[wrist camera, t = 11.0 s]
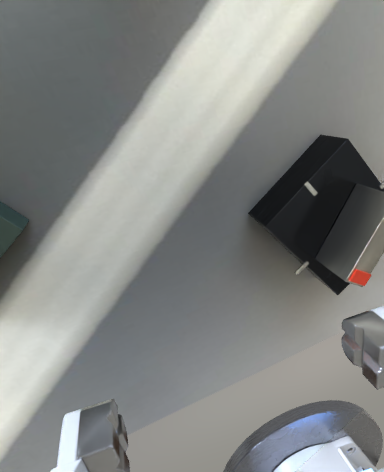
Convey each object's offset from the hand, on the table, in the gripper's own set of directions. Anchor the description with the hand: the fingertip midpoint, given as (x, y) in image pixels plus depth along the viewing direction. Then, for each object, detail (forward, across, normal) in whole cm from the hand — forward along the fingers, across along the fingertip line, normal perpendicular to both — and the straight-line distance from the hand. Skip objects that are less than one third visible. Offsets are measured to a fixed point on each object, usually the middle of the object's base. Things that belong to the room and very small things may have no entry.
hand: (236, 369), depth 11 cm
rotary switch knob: (+14, -14, +4) cm, 21 cm away
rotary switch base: (+18, -14, +4) cm, 23 cm away
